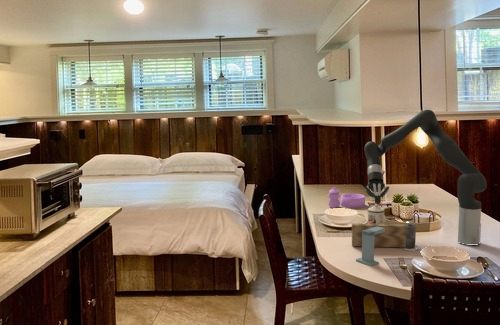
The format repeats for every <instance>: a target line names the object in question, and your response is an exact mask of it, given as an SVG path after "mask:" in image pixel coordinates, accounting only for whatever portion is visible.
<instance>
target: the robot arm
mask: <svg viewBox="0 0 500 325" xmlns="http://www.w3.org/2000/svg"><path fill="white" fill-rule="evenodd" d="M438 120H439V119H438V118H437V116H436V114H435V112H434V111H433V110H431V109H424V110H422V111H420V112H419V113H417V114H416V115H415V116H413V117H412V118H410V119H409V120H408V121H406V122H405V123H404V124H403V125H401V126H400V127H399V128H397V129H396V130H393V131H391V132H390V133H388V134H386V135H384V136H383V137H381V139H380V144H379V145H378V144H377V143H376V142H374V141H372V140H371V141H368V142H366V144H365V145H364V155H365V157H366V161H367V182H368V183H367V185H366V186H364V187H363V191H364V192H365V193H366V194H367V195H368V196H369V197H370V198H374V203H375V204H377V205H380V203H381V202H382V199H381V198H384V197H385V195H386V194H387V193H388V192H389V191H390V186H387V185H386V184H385V182H384V172H383V168H382V161H381V157H382V156H383V155H384V154H386V153H387V152H388V150H390V149H391V148H393V147H396V146H397V145H399V144H400V143H402V142H403V141H404V140H405V139H406V138H407V137H408V136H409V135H410V134H412V132H413V131H415V130H416V129H418V128H419V129H421V130H422V132H424V134H425V135H427V137H428V138H429V139H430V141H432V144H433V147H434V148H435V149H436V151H437V153H438V154H439V155H440V157H441V158H442V160H443V161H444V162H445V163H446V164H448V165H449V166H451V167H453V168H454V169H456V170H458V171H459V172H460V173H461V175H459V178H458V180H457V202H458V204H459V206H458V224H457V225H458V227H457V229H458V230H457V243H458V242H460V243H464V244H479V242H480V243H481V238H482V237H481V231H482V230H481V229H482V223H481V220H482V217H481V216H482V202H481V201H479V200H477V199H475V194H477V193H481V192H484V191H486V189H487V187H488V186H487V185H488V184H487V179H486V177H485V176H484V174H482V173H481V171H479V169H477V167H475V165H474V164H473V163H472V162H471V161H470V159H469V158H468V157H467V156H466V155H465V153H464V152H463V151H462V149H461V148H460V146H459V145H458V144H457V142H456V141H455V140H454V138H452V137H451V136H449V135H448V134H447V133H446V132H445V131H444V130H443V128H442V127H441V124H440V123H439V121H438ZM460 243H459V244H460ZM479 245H480V244H479Z"/></svg>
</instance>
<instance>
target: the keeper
mask: <svg viewBox="0 0 500 325" xmlns="http://www.w3.org/2000/svg"><path fill="white" fill-rule="evenodd" d="M383 232H385V228H381V227H378V226H377V227H374V228H370V229H366V230H363V231H362V246H361V257H358V258H356V259H355V262H357V263H360V264H363V265H366V266H369V267H373V266H375V265H378V264H379V263H380V262H379V261H378V260H375V247H374V235H376V234H379V233H383Z"/></svg>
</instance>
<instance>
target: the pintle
mask: <svg viewBox="0 0 500 325" xmlns="http://www.w3.org/2000/svg"><path fill="white" fill-rule="evenodd" d="M414 223H415V222H414V221H413V220H407V221H406V223H405V224H408V225H412V224H413V225H414ZM399 248H400V249H401V250H405V251H412V252H414V251H419V250H420V249H421V246H419V245H416V244H415V248H406V247H399Z"/></svg>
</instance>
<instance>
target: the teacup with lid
mask: <svg viewBox="0 0 500 325" xmlns="http://www.w3.org/2000/svg"><path fill="white" fill-rule="evenodd" d="M385 211H386V209H385V208H383V207H381V206H379V204H376V203H375V204H374V205H373V206H371V207H369V208H367V224H386V222H387V217H386V215H385Z"/></svg>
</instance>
